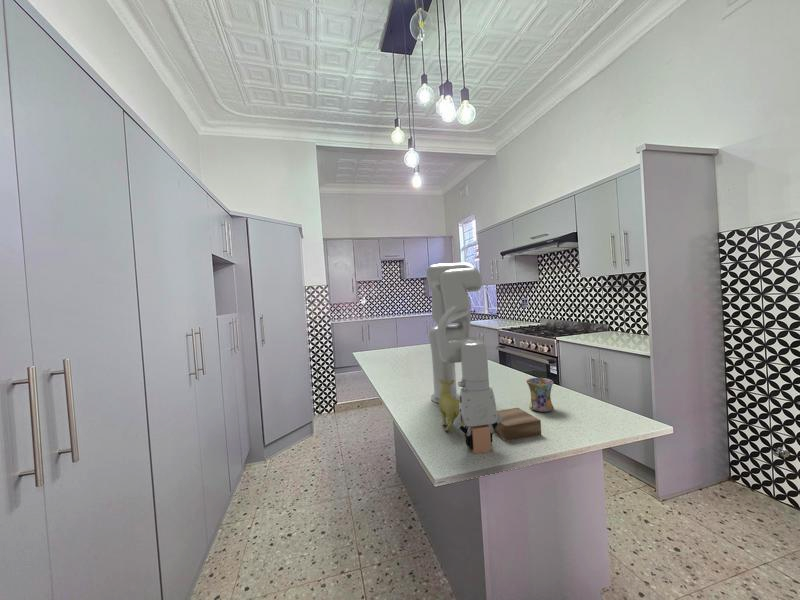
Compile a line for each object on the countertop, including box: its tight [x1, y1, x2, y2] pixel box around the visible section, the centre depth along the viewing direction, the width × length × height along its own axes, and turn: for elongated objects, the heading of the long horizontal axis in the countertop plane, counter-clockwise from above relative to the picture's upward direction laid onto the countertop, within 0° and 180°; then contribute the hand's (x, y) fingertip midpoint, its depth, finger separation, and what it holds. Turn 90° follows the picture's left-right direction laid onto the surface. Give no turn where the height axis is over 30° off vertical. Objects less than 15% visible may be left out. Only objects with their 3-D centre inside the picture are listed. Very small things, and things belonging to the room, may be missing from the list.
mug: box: [526, 377, 554, 413], centre depth 123 cm, size 12×9×11 cm
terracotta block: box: [471, 425, 492, 454], centre depth 95 cm, size 5×5×7 cm
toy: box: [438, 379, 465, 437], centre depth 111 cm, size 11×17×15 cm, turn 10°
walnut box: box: [493, 407, 542, 442], centre depth 105 cm, size 12×12×5 cm
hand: (479, 445), depth 95 cm, fingers closed on terracotta block, 5 cm apart
